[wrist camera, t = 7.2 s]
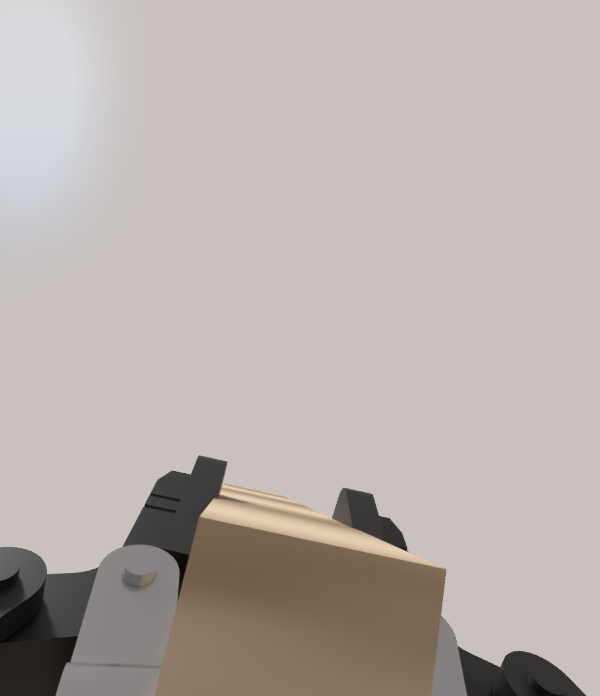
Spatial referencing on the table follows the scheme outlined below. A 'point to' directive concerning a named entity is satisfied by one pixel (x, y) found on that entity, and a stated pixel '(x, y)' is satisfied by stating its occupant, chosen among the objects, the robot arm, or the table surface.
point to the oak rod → (299, 607)
